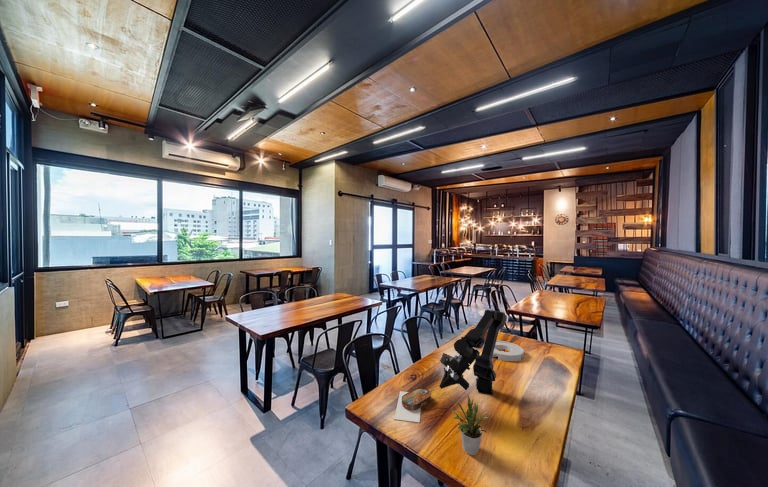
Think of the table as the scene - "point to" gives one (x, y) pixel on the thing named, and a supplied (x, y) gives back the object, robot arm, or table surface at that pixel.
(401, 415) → the mat
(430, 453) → the table surface
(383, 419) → the table surface
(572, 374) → the table surface
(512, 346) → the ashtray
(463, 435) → the house plant
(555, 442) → the table surface
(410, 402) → the tin
